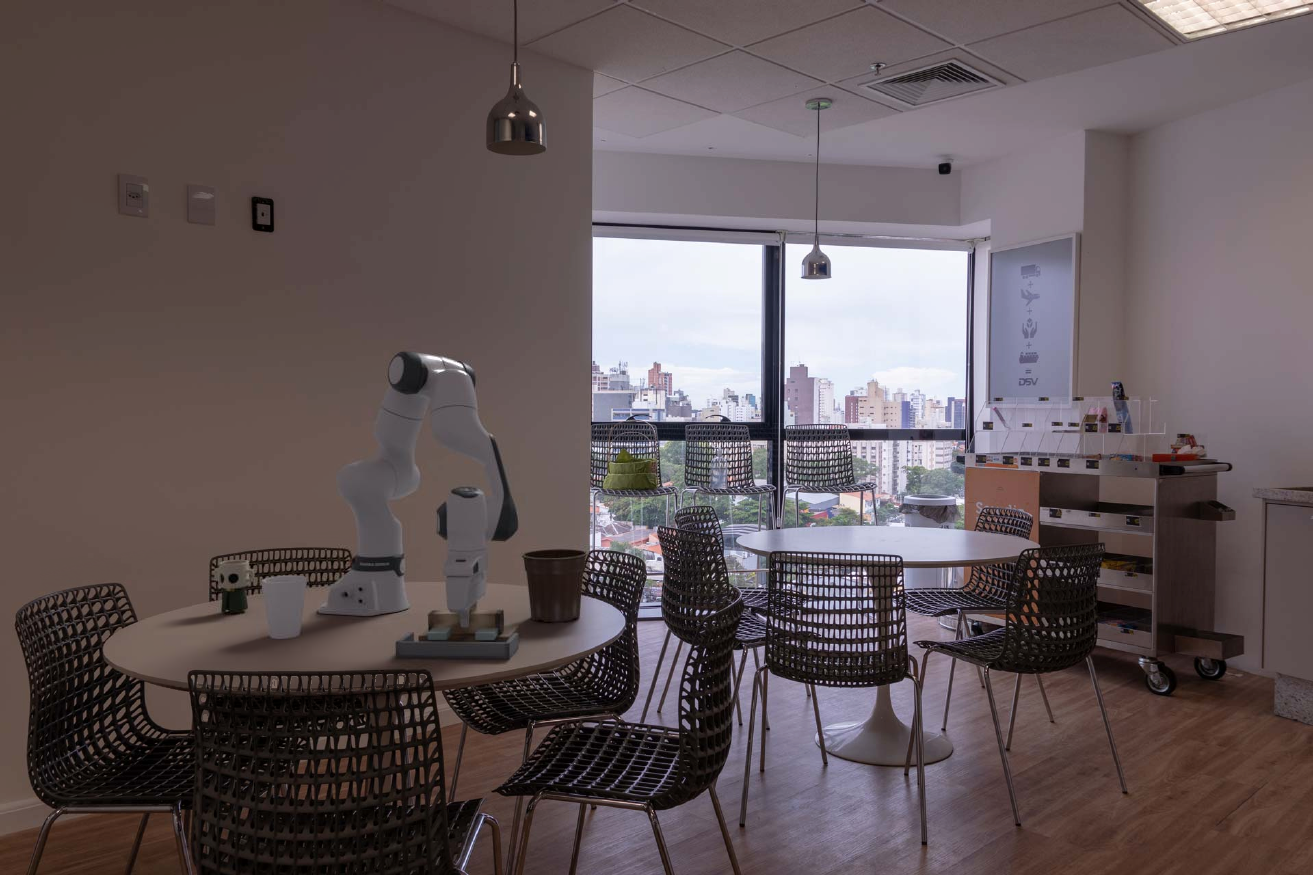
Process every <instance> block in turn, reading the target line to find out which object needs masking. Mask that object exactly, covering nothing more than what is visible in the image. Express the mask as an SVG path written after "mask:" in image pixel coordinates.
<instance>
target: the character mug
mask: <svg viewBox="0 0 1313 875" xmlns="http://www.w3.org/2000/svg"><path fill="white" fill-rule="evenodd" d="M213 575H214V576H213V579H214V581H215V582H218V585H219V587H220V588H222V589H224V591H223V593H222V598H221V611H220V612H221V613H224V614H225V613H227V611H228V613H229V614H234V613H242V612H244V611H246V610H247V609H249V605H248V598H247V593H246V589H245V587H247V586H249V584H250V583H253V582H255V569H252V568H250V561H249V560H245V559H233V560H232V559H231V560H224V561H220V562H219V563H218V568H214V570H213Z"/></svg>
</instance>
